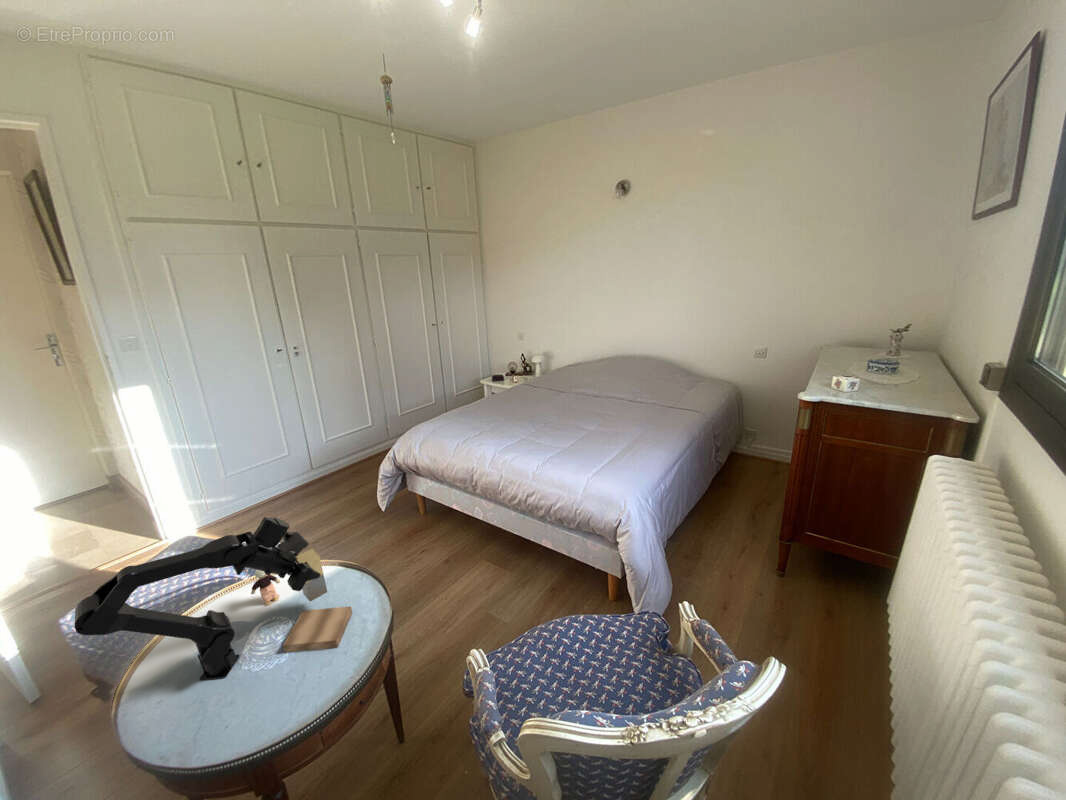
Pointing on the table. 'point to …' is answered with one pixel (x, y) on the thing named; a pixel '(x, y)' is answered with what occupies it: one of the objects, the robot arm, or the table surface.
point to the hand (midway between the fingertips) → (315, 571)
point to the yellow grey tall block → (314, 586)
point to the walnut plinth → (318, 629)
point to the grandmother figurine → (266, 587)
